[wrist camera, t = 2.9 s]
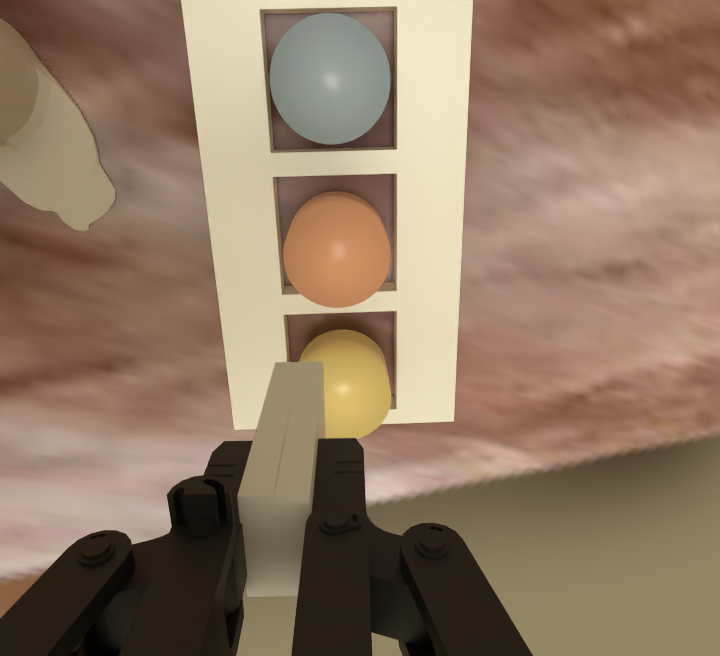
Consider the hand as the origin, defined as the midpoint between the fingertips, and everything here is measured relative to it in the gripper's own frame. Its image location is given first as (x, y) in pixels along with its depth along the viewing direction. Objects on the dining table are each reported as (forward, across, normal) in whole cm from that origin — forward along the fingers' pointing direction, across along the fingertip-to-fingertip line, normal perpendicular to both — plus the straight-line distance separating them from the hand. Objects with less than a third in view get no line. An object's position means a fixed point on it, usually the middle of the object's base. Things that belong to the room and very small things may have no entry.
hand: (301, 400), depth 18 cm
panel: (+22, +1, +1) cm, 22 cm away
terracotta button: (+19, +1, +1) cm, 19 cm away
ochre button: (+19, +1, -8) cm, 21 cm away
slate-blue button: (+19, +1, +10) cm, 21 cm away
